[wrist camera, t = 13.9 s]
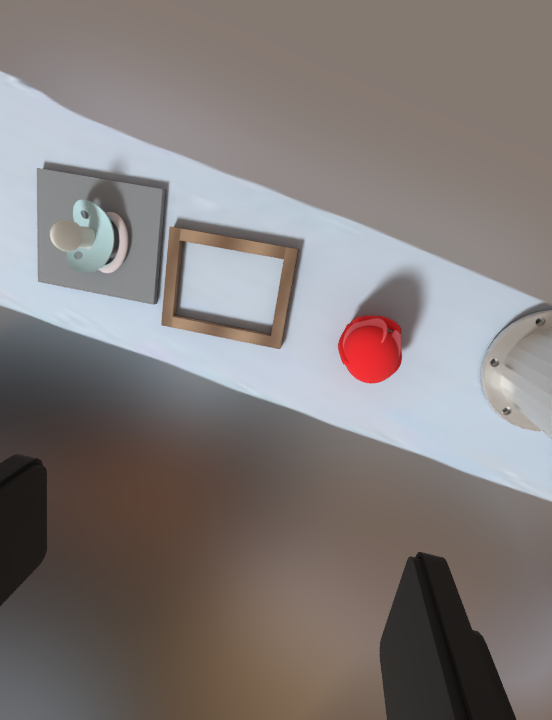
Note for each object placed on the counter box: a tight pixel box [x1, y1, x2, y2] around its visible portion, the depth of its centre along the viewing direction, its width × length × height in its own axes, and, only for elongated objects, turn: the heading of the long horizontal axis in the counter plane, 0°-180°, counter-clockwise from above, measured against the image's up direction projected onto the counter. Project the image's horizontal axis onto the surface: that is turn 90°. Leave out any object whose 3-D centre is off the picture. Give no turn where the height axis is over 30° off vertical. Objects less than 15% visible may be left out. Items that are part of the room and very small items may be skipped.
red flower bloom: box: [338, 316, 402, 383], centre depth 38 cm, size 8×6×6 cm
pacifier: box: [50, 200, 128, 273], centre depth 38 cm, size 7×6×6 cm
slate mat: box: [37, 168, 166, 304], centre depth 42 cm, size 14×12×1 cm
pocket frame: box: [161, 227, 298, 349], centre depth 41 cm, size 14×11×1 cm
